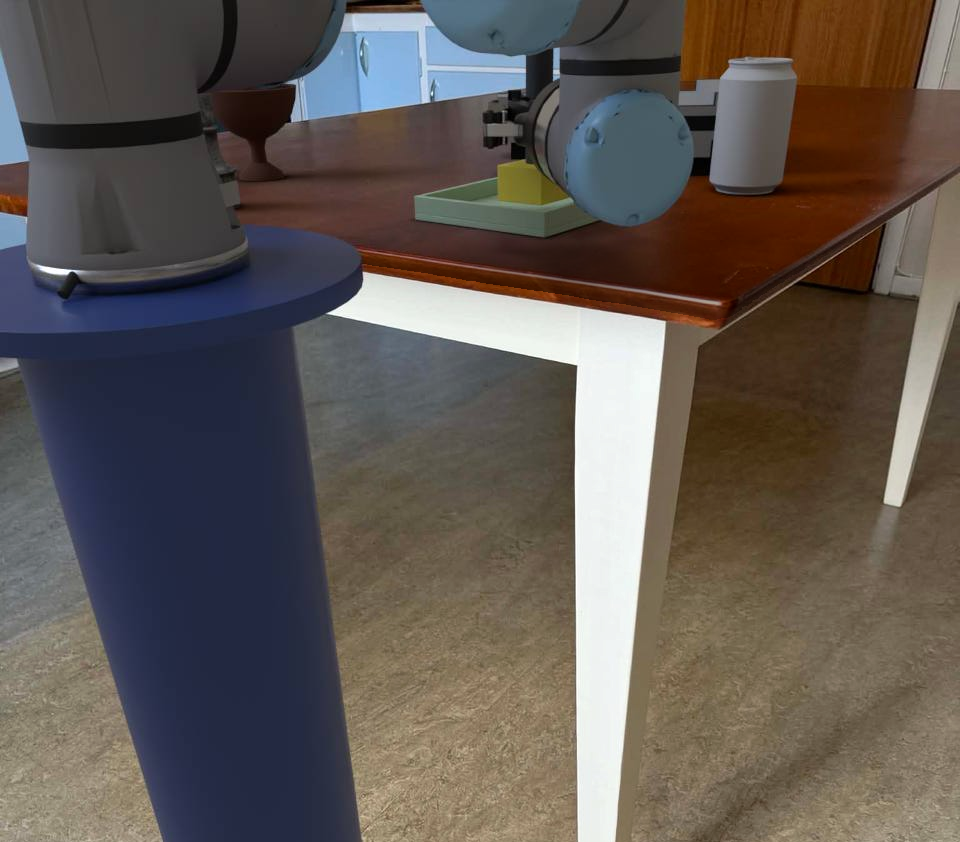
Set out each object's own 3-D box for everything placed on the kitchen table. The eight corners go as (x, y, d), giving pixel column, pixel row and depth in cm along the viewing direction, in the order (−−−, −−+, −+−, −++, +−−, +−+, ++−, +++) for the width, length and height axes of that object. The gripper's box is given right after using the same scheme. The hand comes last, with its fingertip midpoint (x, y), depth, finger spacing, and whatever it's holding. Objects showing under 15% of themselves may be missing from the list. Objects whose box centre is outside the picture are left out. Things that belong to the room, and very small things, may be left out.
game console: (500, 152, 127) (499, 82, 122) (741, 149, 125) (749, 77, 120) (489, 177, 110) (488, 97, 105) (768, 175, 107) (779, 92, 103)
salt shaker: (237, 212, 96) (216, 75, 89) (179, 214, 96) (154, 76, 89) (246, 201, 101) (227, 71, 94) (191, 203, 100) (167, 72, 94)
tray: (544, 237, 83) (544, 212, 81) (415, 219, 91) (413, 196, 89) (663, 200, 96) (665, 177, 95) (542, 187, 104) (542, 166, 103)
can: (752, 199, 96) (770, 60, 89) (693, 190, 100) (706, 58, 93) (795, 189, 99) (815, 56, 93) (736, 181, 104) (752, 54, 97)
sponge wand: (541, 205, 85) (543, 19, 77) (497, 200, 87) (495, 20, 79) (578, 195, 88) (584, 17, 81) (535, 191, 91) (536, 18, 83)
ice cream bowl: (290, 185, 109) (271, 31, 100) (200, 184, 111) (174, 33, 102) (319, 170, 118) (304, 27, 109) (235, 170, 119) (214, 29, 111)
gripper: (480, 197, 71) (448, 155, 90) (680, 187, 72) (606, 148, 91) (477, 81, 66) (445, 63, 86) (690, 72, 68) (610, 57, 87)
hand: (528, 107), depth 88 cm, fingers closed on sponge wand, 2 cm apart
